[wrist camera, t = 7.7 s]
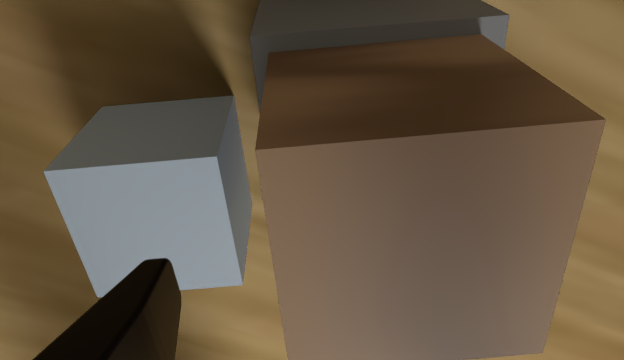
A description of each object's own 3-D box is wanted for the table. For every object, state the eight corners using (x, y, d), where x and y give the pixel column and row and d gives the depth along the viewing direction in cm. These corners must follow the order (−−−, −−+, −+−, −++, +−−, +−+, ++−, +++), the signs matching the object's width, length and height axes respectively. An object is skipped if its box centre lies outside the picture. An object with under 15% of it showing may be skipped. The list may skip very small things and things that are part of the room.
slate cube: (137, 213, 20) (97, 297, 16) (102, 105, 18) (43, 171, 13) (252, 203, 20) (242, 285, 16) (234, 94, 18) (217, 156, 13)
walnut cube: (289, 224, 13) (290, 375, 9) (268, 52, 11) (255, 149, 7) (461, 209, 13) (542, 353, 9) (481, 33, 11) (606, 119, 7)
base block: (280, 149, 19) (277, 241, 14) (262, -8, 16) (249, 36, 11) (427, 137, 19) (479, 224, 14) (437, -22, 16) (509, 14, 11)
